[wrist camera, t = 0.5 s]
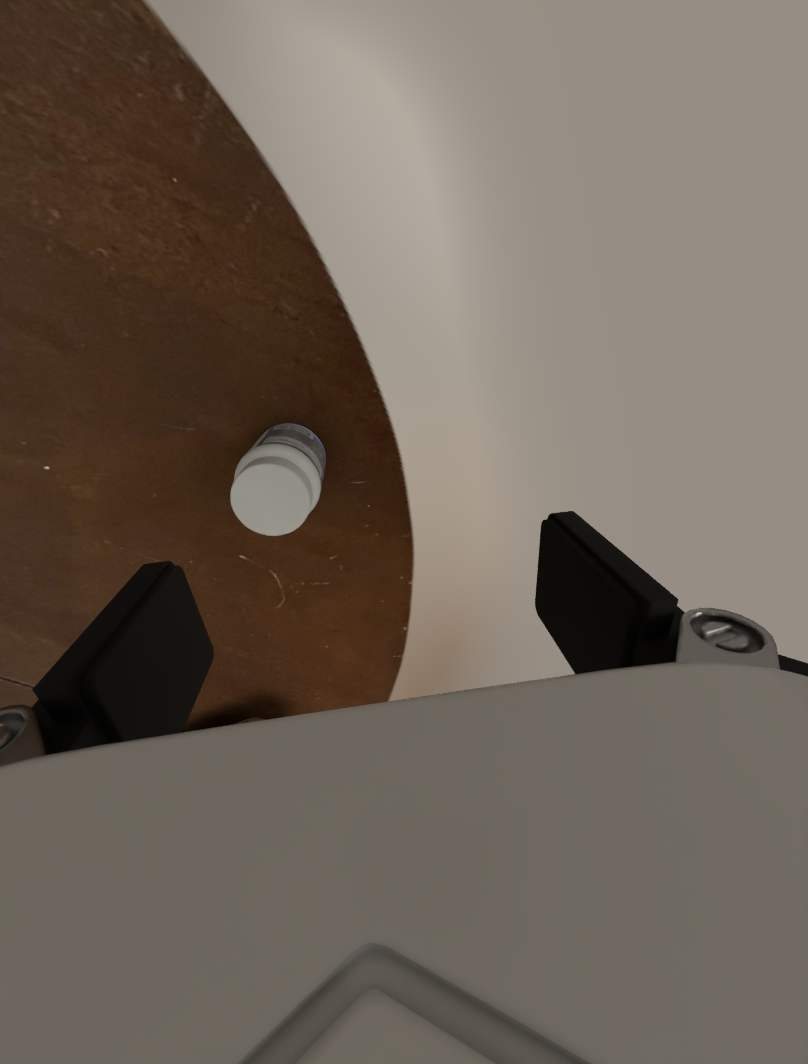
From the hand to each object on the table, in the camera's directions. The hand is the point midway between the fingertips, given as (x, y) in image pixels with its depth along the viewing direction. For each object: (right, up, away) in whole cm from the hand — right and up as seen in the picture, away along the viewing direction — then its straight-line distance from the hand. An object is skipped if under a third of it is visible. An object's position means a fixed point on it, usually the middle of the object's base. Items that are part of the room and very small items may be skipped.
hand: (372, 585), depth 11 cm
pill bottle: (-7, +7, +18) cm, 20 cm away
